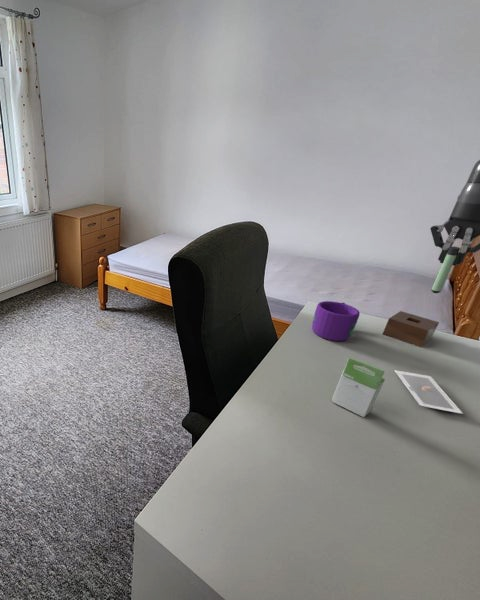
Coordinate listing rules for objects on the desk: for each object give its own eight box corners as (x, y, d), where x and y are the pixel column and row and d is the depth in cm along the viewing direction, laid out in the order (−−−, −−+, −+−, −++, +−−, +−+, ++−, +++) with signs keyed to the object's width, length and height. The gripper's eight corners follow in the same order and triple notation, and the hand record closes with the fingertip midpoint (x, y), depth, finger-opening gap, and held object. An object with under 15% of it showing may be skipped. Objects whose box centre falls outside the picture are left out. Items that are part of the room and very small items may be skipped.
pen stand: (394, 326, 118) (400, 310, 116) (431, 338, 111) (439, 322, 108) (382, 334, 114) (388, 318, 111) (420, 347, 106) (428, 330, 103)
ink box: (370, 411, 81) (391, 365, 76) (364, 418, 79) (384, 371, 74) (337, 395, 86) (354, 351, 81) (330, 401, 84) (347, 357, 79)
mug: (346, 347, 106) (356, 319, 102) (305, 334, 114) (313, 308, 110) (357, 328, 117) (366, 302, 113) (319, 317, 125) (326, 292, 121)
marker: (431, 290, 101) (451, 245, 94) (440, 293, 99) (461, 247, 93) (429, 292, 100) (448, 247, 93) (438, 295, 98) (458, 249, 92)
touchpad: (428, 379, 92) (432, 372, 91) (461, 417, 79) (465, 410, 78) (392, 373, 94) (395, 366, 93) (418, 409, 82) (422, 402, 81)
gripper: (521, 203, 85) (487, 268, 92) (446, 196, 96) (421, 255, 103) (514, 205, 81) (479, 273, 89) (437, 199, 92) (411, 259, 99)
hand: (448, 263), depth 96 cm, fingers closed on marker, 2 cm apart
